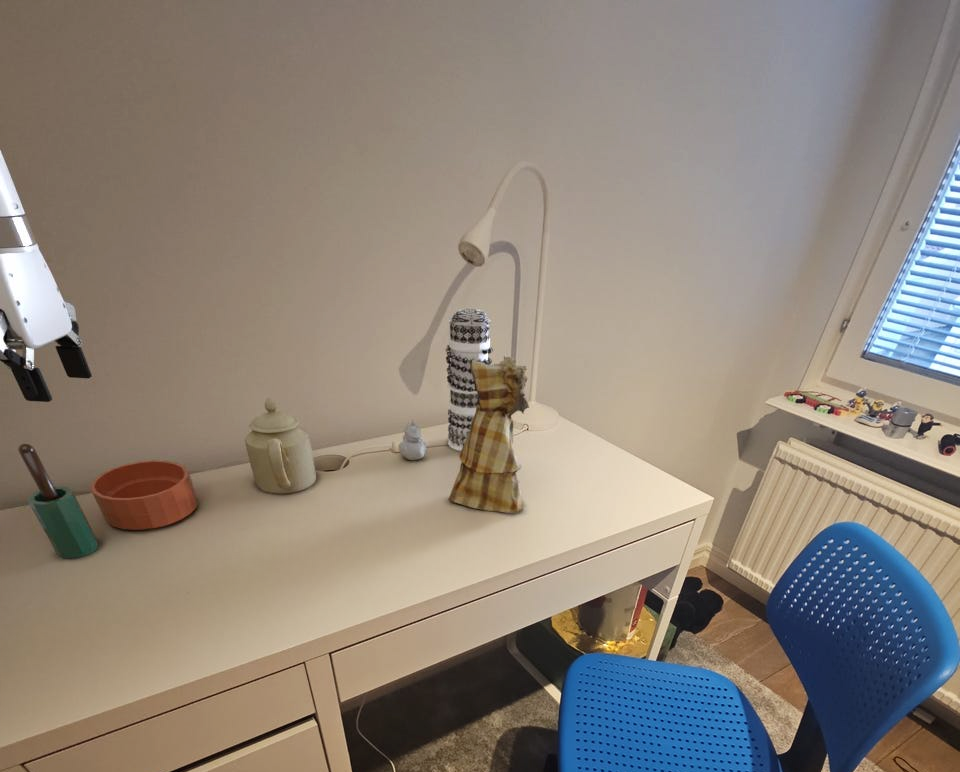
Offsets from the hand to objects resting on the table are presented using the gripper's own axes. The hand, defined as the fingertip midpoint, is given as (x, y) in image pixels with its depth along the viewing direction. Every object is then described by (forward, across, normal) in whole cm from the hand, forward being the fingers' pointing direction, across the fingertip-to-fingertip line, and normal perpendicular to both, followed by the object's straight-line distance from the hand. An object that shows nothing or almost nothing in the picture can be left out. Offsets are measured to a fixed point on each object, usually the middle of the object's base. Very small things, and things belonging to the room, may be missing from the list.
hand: (60, 388), depth 76 cm
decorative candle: (+21, -38, +56) cm, 71 cm away
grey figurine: (+21, -31, +44) cm, 58 cm away
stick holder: (+22, +7, -3) cm, 23 cm away
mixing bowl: (+22, -5, +3) cm, 22 cm away
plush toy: (+20, -14, +60) cm, 65 cm away
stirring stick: (+21, +7, -3) cm, 22 cm away
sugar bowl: (+21, -17, +23) cm, 36 cm away
